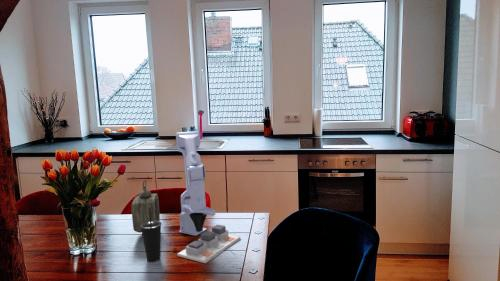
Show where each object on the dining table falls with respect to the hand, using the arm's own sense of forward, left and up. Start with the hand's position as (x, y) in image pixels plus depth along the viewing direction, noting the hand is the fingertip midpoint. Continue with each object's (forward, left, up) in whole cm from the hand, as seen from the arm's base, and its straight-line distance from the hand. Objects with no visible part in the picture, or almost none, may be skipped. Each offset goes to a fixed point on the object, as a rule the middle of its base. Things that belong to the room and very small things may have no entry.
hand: (199, 230), depth 149 cm
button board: (+1, +5, -8) cm, 10 cm away
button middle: (0, +5, -6) cm, 8 cm away
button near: (0, -3, -7) cm, 8 cm away
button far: (0, +12, -6) cm, 14 cm away
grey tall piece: (-30, +2, -9) cm, 31 cm away
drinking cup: (-12, -13, -9) cm, 20 cm away
